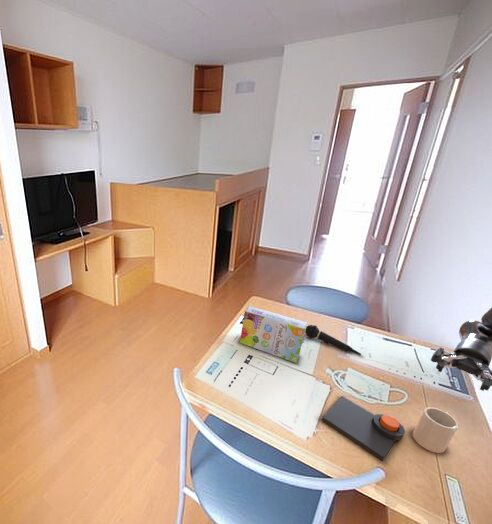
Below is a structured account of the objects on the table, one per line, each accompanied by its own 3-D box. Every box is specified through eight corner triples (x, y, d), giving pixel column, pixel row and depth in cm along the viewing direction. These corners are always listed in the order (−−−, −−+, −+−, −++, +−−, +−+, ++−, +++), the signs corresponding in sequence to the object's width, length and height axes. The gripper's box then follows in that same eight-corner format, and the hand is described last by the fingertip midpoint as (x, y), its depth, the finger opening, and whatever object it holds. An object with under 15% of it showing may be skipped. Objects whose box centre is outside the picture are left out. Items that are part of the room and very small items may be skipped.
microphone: (357, 359, 117) (303, 333, 129) (364, 346, 116) (309, 321, 127) (356, 363, 113) (301, 335, 124) (364, 349, 112) (307, 323, 123)
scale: (404, 434, 84) (408, 426, 83) (387, 464, 77) (390, 456, 76) (342, 397, 96) (344, 390, 95) (321, 420, 88) (324, 412, 87)
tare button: (399, 426, 84) (401, 422, 83) (394, 434, 81) (396, 429, 81) (382, 416, 87) (384, 412, 86) (377, 424, 84) (379, 419, 84)
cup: (447, 443, 82) (461, 419, 78) (441, 458, 78) (455, 433, 75) (416, 426, 87) (428, 403, 83) (409, 439, 83) (421, 415, 80)
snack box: (299, 355, 115) (308, 321, 109) (296, 364, 110) (305, 329, 104) (243, 336, 126) (248, 304, 120) (238, 343, 121) (244, 310, 115)
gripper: (445, 332, 95) (432, 353, 86) (514, 357, 85) (506, 383, 76) (436, 352, 98) (422, 373, 89) (501, 378, 88) (492, 405, 79)
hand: (461, 378), depth 83 cm, fingers open, 8 cm apart
